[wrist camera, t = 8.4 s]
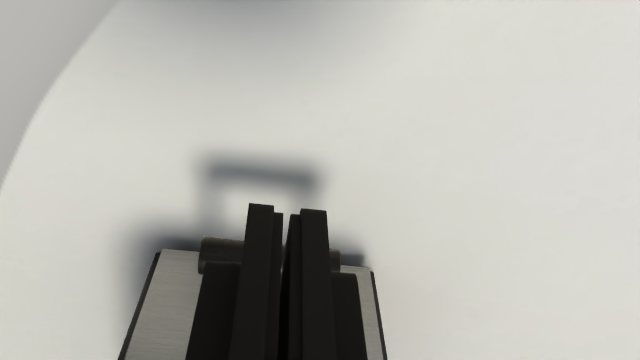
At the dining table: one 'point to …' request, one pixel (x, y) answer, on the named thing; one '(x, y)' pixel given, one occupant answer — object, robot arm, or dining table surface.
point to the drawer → (183, 290)
